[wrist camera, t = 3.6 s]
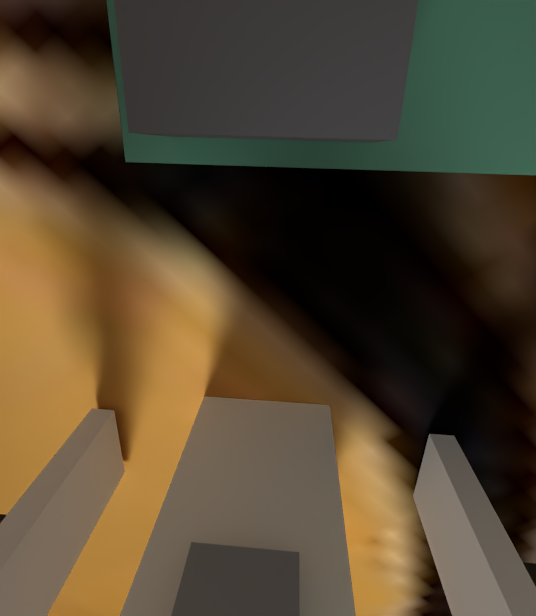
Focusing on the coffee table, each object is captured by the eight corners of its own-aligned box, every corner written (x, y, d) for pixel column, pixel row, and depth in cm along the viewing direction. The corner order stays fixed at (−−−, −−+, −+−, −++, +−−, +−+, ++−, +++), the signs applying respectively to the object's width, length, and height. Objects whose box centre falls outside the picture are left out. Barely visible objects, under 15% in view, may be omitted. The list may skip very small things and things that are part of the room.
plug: (208, 486, 13) (90, 930, 6) (203, 380, 12) (20, 824, 4) (319, 496, 13) (347, 971, 6) (331, 389, 11) (399, 880, 4)
